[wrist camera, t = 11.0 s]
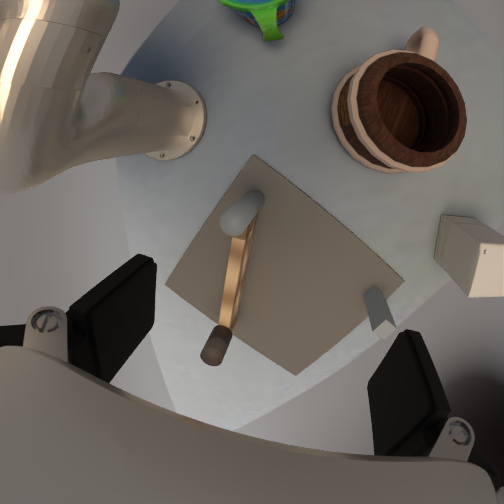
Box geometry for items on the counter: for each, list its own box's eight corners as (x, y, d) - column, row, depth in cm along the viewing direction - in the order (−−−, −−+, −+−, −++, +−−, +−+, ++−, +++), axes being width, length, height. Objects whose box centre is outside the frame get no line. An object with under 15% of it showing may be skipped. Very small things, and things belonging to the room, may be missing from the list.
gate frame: (242, 200, 41) (214, 225, 30) (253, 185, 40) (229, 204, 28) (371, 302, 43) (386, 355, 32) (383, 291, 42) (403, 341, 30)
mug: (408, 188, 36) (455, 214, 22) (313, 144, 37) (317, 144, 23) (447, 73, 28) (501, 52, 14) (356, 26, 29) (376, -23, 15)
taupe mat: (165, 283, 50) (164, 284, 49) (253, 154, 39) (253, 154, 38) (295, 374, 52) (295, 375, 51) (403, 280, 41) (404, 281, 41)
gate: (241, 210, 41) (214, 238, 29) (262, 215, 41) (242, 245, 29) (223, 320, 49) (198, 369, 37) (239, 324, 48) (219, 375, 37)
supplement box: (432, 259, 39) (466, 298, 27) (440, 213, 36) (481, 241, 24) (467, 260, 37) (504, 298, 26) (476, 217, 35) (520, 245, 23)
